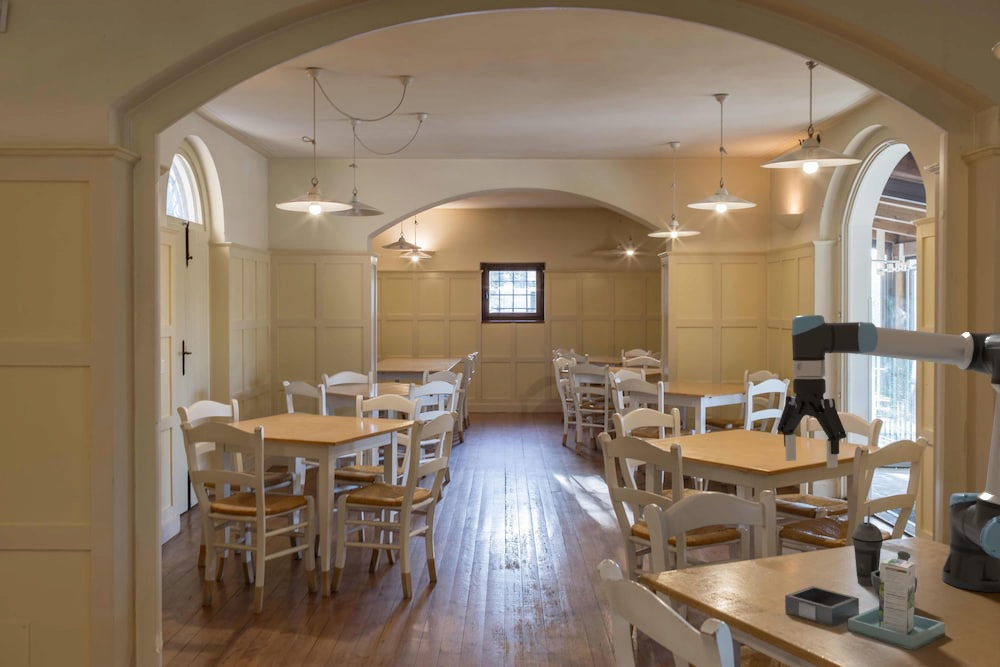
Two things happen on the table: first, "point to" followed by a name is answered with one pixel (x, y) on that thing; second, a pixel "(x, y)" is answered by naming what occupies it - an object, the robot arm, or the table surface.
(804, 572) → the table surface
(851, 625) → the tray
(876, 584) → the mortar and pestle
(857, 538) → the beverage cup
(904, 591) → the syrup box
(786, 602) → the square open bin
